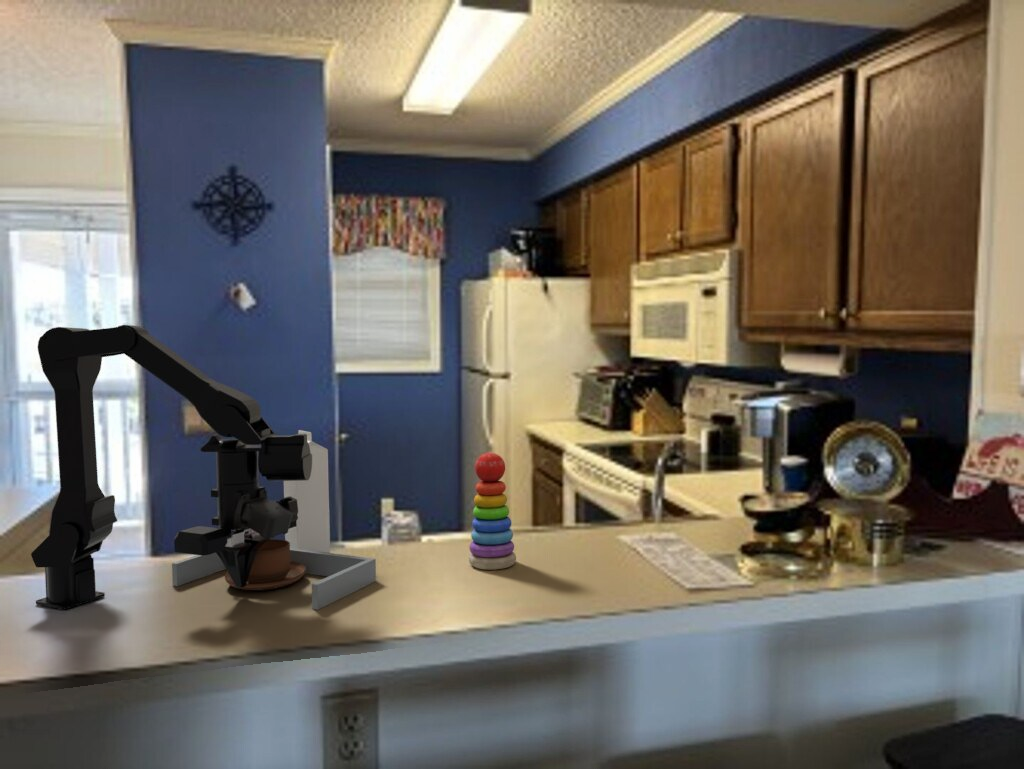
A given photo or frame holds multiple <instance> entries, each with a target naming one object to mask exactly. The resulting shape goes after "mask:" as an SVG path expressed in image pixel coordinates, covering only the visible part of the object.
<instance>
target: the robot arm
mask: <svg viewBox="0 0 1024 769" xmlns="http://www.w3.org/2000/svg"><path fill="white" fill-rule="evenodd" d="M37 352H38V356H39V360H40V365H41V369H42V372H43V374H44V376H45V378H46V379H47V381H48V382H49V384H50V386H51V388H52V389H53V392H54V404H55V406H54V407H55V418H56V420H55V422H56V438H57V440H56V441H57V452H58V457H57V458H58V469H59V470H58V473H59V487H60V488H59V493H58V496H57V498H56V500H55V502H54V505H53V508H52V510H51V514H50V523H49V529H48V530H49V531H48V536H47V537H46V538H45V539H44V540H43V541H42V542H41V543H39V545H38V546H37V547H36V548H35V549H34V550H33V551H32V552H31V553H30V556H31V558H32V561H33V563H34V566H35V568H44V573H45V574H44V577H45V581H44V582H45V597H43V598H40V599H37V600H35V605H39V606H42V607H43V606H44V607H49V608H54V609H59V610H68V609H71V608H74V607H77V606H80V605H83V604H85V603H89V602H92V601H95V600H98V599H100V598H103V597H105V592H102V591H98V590H97V589H96V586H97V585H96V570H95V563H94V561H95V560H94V557H92V554H95V553H97V552H100V551H101V548H102V545H103V542H104V541H105V540H106V539H107V537H108V536H110V535H111V533H112V531H113V526H114V523H116V522H118V518H117V516H116V514H115V506H116V505H115V504H116V498H115V495H114V494H111V495H107V496H106V495H105V494H104V493H103V491H102V488H100V486H99V480H98V477H99V476H98V460H97V459H98V458H97V445H96V430H95V429H96V427H95V426H96V425H95V410H94V407H95V406H94V395H93V394H94V393H93V392H94V387H95V384H96V382H97V379H98V376H99V375H100V371H101V368H102V360H103V358H107V357H113V356H114V357H115V356H119V355H125V356H127V357H128V358H130V359H131V360H133V361H134V362H135V363H136V364H138V365H139V366H141V367H142V368H143V369H144V370H146V371H147V372H148V373H150V374H152V376H154V377H155V378H157V379H158V380H160V381H161V382H163V384H165V385H167V386H168V387H169V388H171V389H173V391H175V392H176V393H178V394H179V395H181V396H182V397H183V398H185V399H186V400H187V401H188V402H189V403H190V404H191V405H192V406H193V407H194V409H195V410H196V412H197V413H198V415H199V416H200V417H201V419H202V420H203V421H204V422H205V423H206V424H207V425H208V426H209V427H210V428H211V429H212V430H213V431H214V432H215V433H216V434H213V435H211V436H210V438H209V439H208V441H207V442H206V443H205V444H203V446H201V447H200V452H201V453H215V456H216V457H215V461H216V488H213V489H210V497H211V498H217V516H215V517H212V518H211V525H212V526H218V527H212V526H202V525H197V526H193V527H190V528H186V529H182V530H179V531H178V532H177V533H176V535H175V536H174V539H173V543H174V552H175V553H181V554H188V555H193V556H196V555H201V556H203V555H210V554H213V553H216V554H217V555H218V557H219V558H220V559H221V561H222V562H223V564H224V566H225V568H226V569H225V570H226V571H227V572H228V573H229V575H230V577H231V578H232V580H233V582H234V584H235V586H236V587H238V588H242V587H245V586H246V583H247V580H248V577H249V574H250V570H251V567H252V564H253V561H254V558H255V556H256V553H257V551H258V549H259V548H260V547H261V546H262V545H263V544H264V543H265V542H266V541H268V540H270V539H275V537H278V536H280V535H285V534H286V533H288V530H289V529H290V528H293V527H296V526H297V524H296V520H297V519H298V516H297V514H298V505H297V499H295V498H293V497H291V496H289V497H285V498H284V497H283V498H281V499H280V500H278V499H274V500H270V499H269V498H268V495H267V494H268V492H267V489H266V487H265V486H259V485H260V484H259V474H261V477H265V479H266V480H267V482H284V481H303V480H309V478H310V475H311V470H312V454H311V453H310V447H309V444H308V442H307V435H306V434H298V433H295V434H293V435H292V434H289V435H285V434H284V435H280V434H279V435H277V434H276V432H275V431H274V430H273V429H272V427H271V425H269V423H268V422H267V421H266V420H265V418H263V416H262V412H261V406H260V404H259V402H258V401H257V400H256V399H255V398H254V397H252V396H251V395H250V396H249V395H248V394H246V393H244V392H242V391H240V390H238V389H236V388H233V387H231V386H228V385H225V384H223V383H220V382H218V381H216V380H214V379H212V378H210V377H209V376H207V375H206V374H205V373H204V372H202V371H201V370H199V369H198V368H197V367H195V366H194V365H193V364H191V363H190V362H189V361H187V360H186V359H184V358H183V357H182V356H181V355H179V354H177V353H176V352H175V351H174V350H172V349H171V348H169V347H168V346H166V345H165V344H163V343H162V342H161V341H159V340H158V339H157V338H155V337H154V336H152V334H150V333H149V331H147V329H145V328H144V327H143V326H140V325H130V324H122V325H118V326H115V327H109V328H108V327H107V328H100V329H99V328H97V329H89V328H83V327H68V326H67V327H65V326H56V327H52V328H50V329H48V330H46V331H45V332H44V333H43V334H42V335H41V336H40V337H39V339H38V341H37ZM223 437H224V438H223ZM225 438H228V439H225ZM231 438H235V439H231ZM238 588H237V589H238Z"/></svg>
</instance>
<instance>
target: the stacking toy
mask: <svg viewBox="0 0 1024 769" xmlns="http://www.w3.org/2000/svg"><path fill="white" fill-rule="evenodd" d="M474 471H475V474H476V475H477V477H478V479H479V480H481V481H479V482H477V483H476V486H475V491H476V493H478V494H476V495H475V496H474V498H473V504H474V505H475V506H474V508H473V511H472V513H473V516H474V517H475V518H473V520H472V523H471V525H472V528H473V530H472V532H471V535H470V536H471V540H472V541H471V542H470V544H469V551H470V553H469V556H468V563H469V564H470V565H471V566H472V567H474V568H476V569H480V570H492V571H493V570H494V571H495V570H502V569H506V568H510V567H512V566H513V565H514V564H515V563H516V561H517V556H516V553H515V552H514V550H515V544H514V542H513V541H512V539H513V537H514V532H513V530H512V529H511V527H512V520H511V517H510V516H509V513H510V509H509V507H508V505H506V504H507V502H508V497H507V495H506V494H504V493H505V491H506V490H507V489H506V487H507V486H506V484H505V482H503V481H502V480H501V479H502V478H503V477H504V475H505V473H506V463H505V460H504V458H502V456H500V455H499V454H498V453H495V452H486V453H484V454H481V455H480V456H479V457H478V458H477V460H476V461H475V465H474Z"/></svg>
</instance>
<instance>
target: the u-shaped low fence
mask: <svg viewBox="0 0 1024 769" xmlns="http://www.w3.org/2000/svg"><path fill="white" fill-rule="evenodd" d="M290 562H296V563H300V564H302V565H304V566H305V567H306V571H305V574H310V575H316V576H317V575H318V576H322V577H323V576H324V578H321V579H320V580H317V581H316V582H313V583H311V609H312V610H320V609H323V608H324V607H326V606H329V605H331V604H333V603H334V602H337V601H339V600H341V599H342V598H344V597H347V596H348V595H350V594H352V593H353V594H354V592H356V591H359V590H361V589H362V588H364V587H367V586H368V585H371V584H373V583H375V582H377V565H376V564H377V563H376V558H374V557H373V558H372V557H366V556H365V557H364V556H355V555H348V554H341V553H334V552H330V553H326V552H318V551H310V550H302V549H294V548H290ZM171 569H172V570H171V573H172V574H171V575H172V577H171V578H172V586H173V587H179V586H181V585H185V584H188V583H190V582H191V583H192V582H193V581H197V580H199V579H201V578H204V577H205V578H206V577H208V576H210V575H213V574H216V573H218V572H219V573H220V572H221V571H224V570H227V569H226V568H225V566H224V564H223V562H222V561H221V559H220V558H219V557H218V555H217V554H216V553H213V554H210V555H203V556H201V555H193V556H190V557H186V558H184V559H181V560H178V561H174V562H172V563H171Z"/></svg>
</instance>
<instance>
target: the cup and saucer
mask: <svg viewBox="0 0 1024 769" xmlns="http://www.w3.org/2000/svg"><path fill="white" fill-rule="evenodd" d="M305 571H306V567H305V566H304V565H302V564H300V563H296V562H290V543H289V542H288V541H286V540H285V539H279V538H271V539H270V540H268V541H266V542H265V543H264V544H263V545H262V546H261V547H260V548H259V549H258V551H257V553H256V556H255V558H254V561H253V564H252V567H251V570H250V574H249V577H248V580H247V583H246V586H245V587H242V588H238V587H236V586H235V584H234V582H233V580H232V578H231V577H230V575H229V573H228V571H227V572H226V573H225V575H224V580H225V582H226V583H227V584H228V585H230V586H231V587H233V588H236V589H239V590H243V591H244V590H245V591H265V590H266V591H267V590H268V591H269V590H274V589H278V588H282V587H286V586H288V585H291V584H293V583H296V582H298V581H299V580H300V579H301V578H302V577H303V576H304V575H305V574H306V573H305Z"/></svg>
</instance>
